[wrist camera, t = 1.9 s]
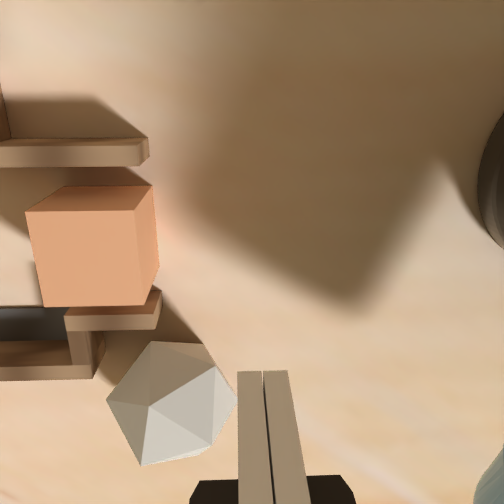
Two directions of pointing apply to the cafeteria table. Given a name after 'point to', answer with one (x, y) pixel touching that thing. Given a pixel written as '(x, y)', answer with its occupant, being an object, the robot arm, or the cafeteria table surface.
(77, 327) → the trap lane
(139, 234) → the block
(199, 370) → the die
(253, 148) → the cafeteria table surface
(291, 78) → the cafeteria table surface
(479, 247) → the cafeteria table surface
